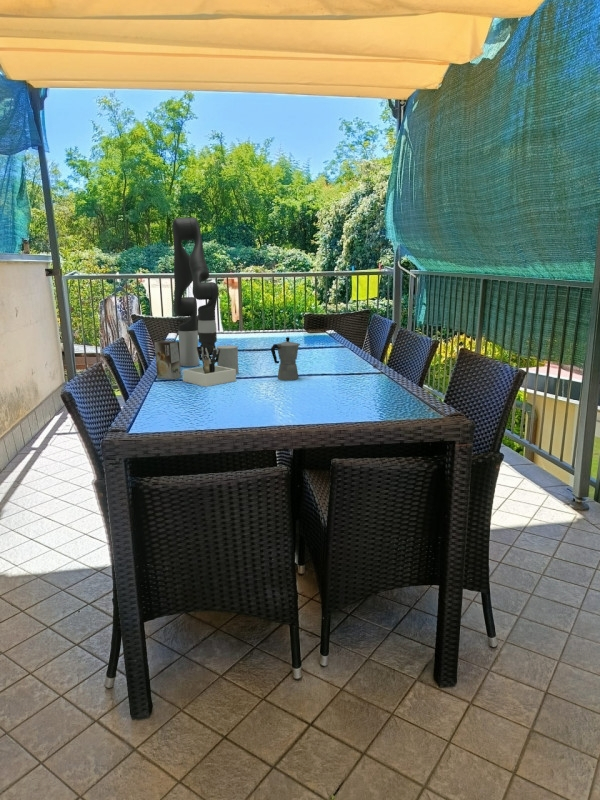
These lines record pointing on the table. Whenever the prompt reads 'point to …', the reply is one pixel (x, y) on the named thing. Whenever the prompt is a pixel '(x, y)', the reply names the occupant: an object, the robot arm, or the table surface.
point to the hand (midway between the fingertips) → (209, 371)
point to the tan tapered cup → (206, 366)
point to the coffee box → (168, 359)
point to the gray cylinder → (228, 357)
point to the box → (209, 376)
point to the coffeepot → (286, 360)
